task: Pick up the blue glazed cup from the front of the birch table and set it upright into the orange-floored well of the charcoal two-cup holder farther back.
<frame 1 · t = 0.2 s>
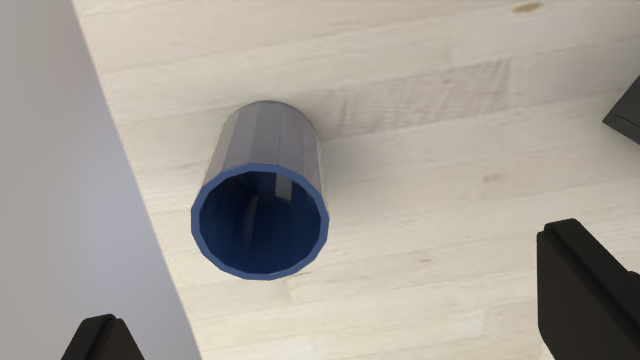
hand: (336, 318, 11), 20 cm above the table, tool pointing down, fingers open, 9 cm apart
cup: (269, 149, 31), on the table
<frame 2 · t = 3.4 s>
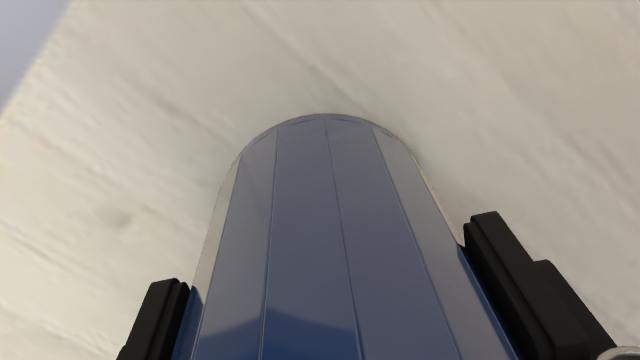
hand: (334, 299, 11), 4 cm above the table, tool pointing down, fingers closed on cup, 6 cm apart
cup: (324, 211, 15), on the table, touching gripper
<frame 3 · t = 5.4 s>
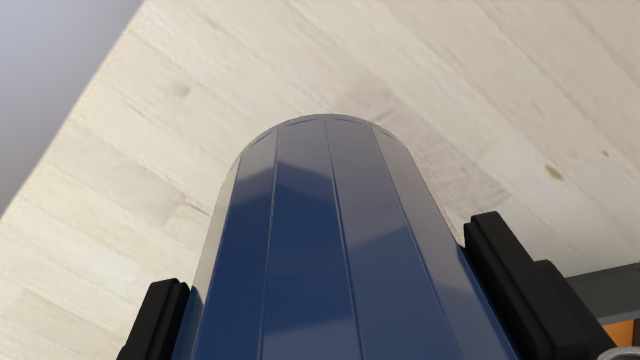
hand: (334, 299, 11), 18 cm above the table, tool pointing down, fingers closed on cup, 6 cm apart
cup: (324, 211, 15), point 14 cm above the table, touching gripper
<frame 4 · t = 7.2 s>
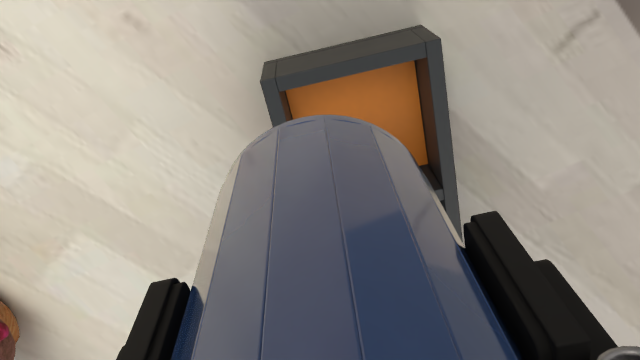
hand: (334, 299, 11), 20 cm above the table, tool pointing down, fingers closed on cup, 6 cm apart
cup: (324, 212, 15), point 16 cm above the table, touching gripper
holder: (369, 177, 32), on the table
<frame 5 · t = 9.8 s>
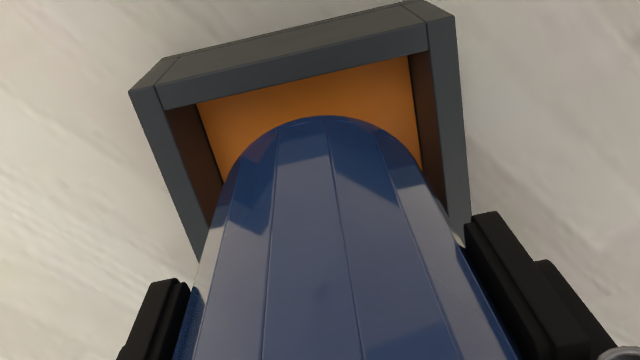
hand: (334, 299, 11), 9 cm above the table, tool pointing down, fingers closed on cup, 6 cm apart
cup: (325, 212, 15), point 5 cm above the table, touching gripper
holder: (338, 235, 21), on the table
when the fingers open (5 cm above the table, at t = 11.3 s): cup stays where it is, resting on holder.
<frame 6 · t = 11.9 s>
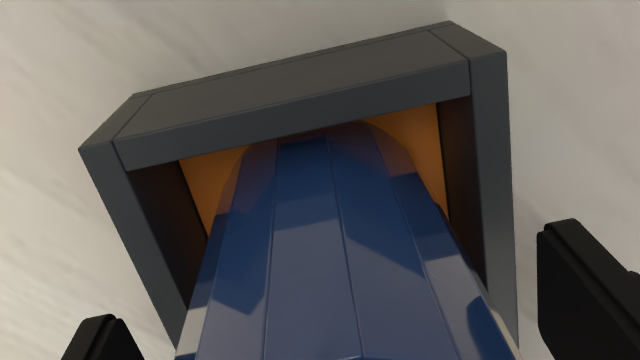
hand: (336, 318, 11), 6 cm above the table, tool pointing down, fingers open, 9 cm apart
cup: (324, 211, 15), point 1 cm above the table, touching holder
holder: (347, 295, 18), on the table
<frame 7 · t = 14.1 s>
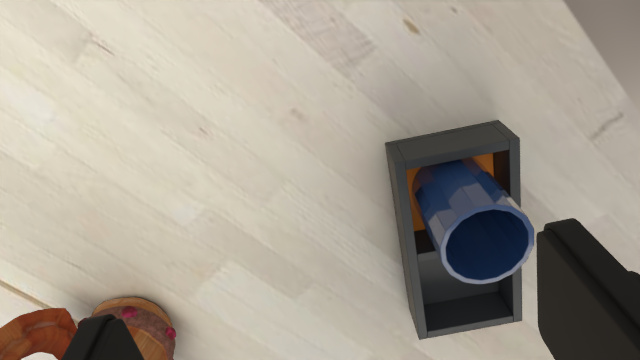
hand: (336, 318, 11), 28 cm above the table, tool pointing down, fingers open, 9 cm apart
cup: (448, 186, 41), point 1 cm above the table, touching holder
holder: (449, 223, 44), on the table
mug: (116, 305, 46), on the table
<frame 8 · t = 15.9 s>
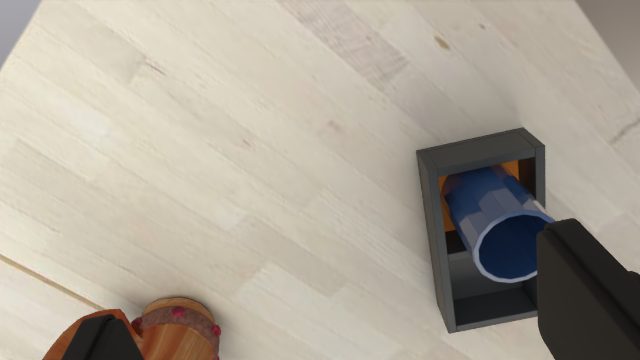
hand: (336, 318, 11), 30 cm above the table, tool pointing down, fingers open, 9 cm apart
cup: (476, 190, 44), point 1 cm above the table, touching holder
holder: (476, 224, 46), on the table
mug: (162, 305, 49), on the table
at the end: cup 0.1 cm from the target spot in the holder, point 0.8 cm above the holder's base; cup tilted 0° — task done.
